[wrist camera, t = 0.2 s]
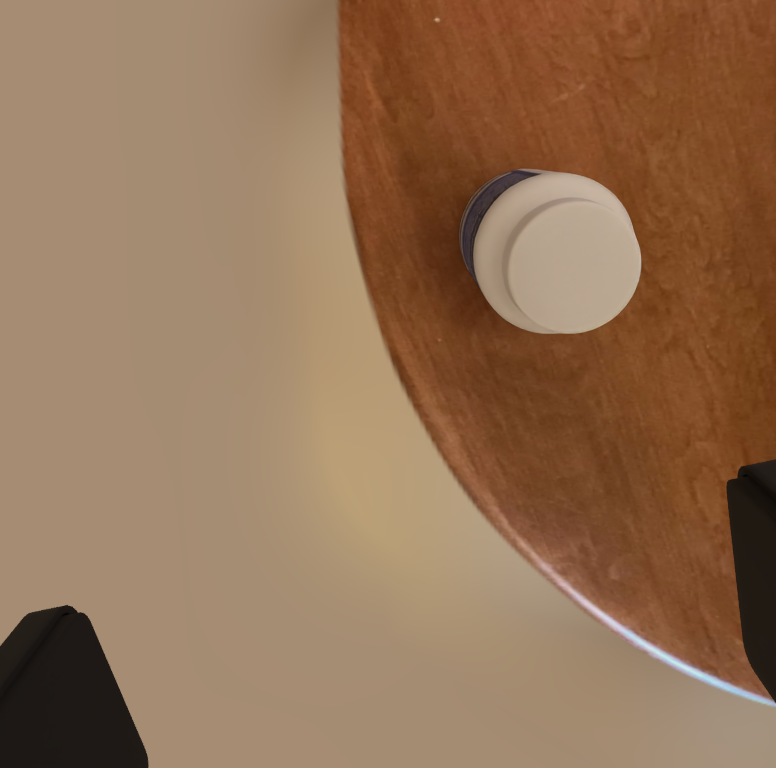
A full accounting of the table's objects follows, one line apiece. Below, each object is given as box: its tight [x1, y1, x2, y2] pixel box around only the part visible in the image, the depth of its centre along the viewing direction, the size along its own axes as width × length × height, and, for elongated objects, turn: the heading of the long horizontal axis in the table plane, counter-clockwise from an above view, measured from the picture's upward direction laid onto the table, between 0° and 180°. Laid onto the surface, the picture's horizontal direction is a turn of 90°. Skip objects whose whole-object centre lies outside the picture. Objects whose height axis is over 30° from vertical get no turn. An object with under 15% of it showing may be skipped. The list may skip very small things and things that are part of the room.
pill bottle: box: [459, 169, 641, 334], centre depth 26 cm, size 5×5×10 cm
